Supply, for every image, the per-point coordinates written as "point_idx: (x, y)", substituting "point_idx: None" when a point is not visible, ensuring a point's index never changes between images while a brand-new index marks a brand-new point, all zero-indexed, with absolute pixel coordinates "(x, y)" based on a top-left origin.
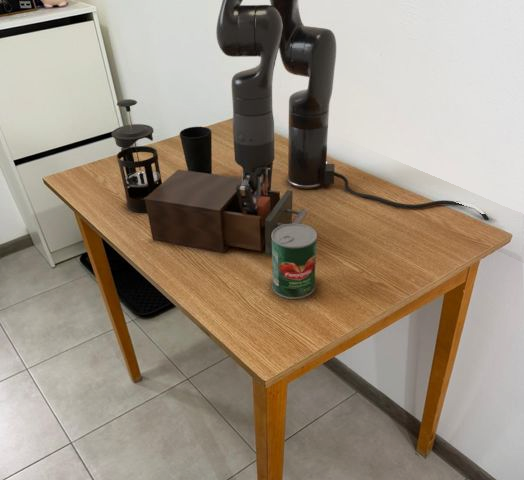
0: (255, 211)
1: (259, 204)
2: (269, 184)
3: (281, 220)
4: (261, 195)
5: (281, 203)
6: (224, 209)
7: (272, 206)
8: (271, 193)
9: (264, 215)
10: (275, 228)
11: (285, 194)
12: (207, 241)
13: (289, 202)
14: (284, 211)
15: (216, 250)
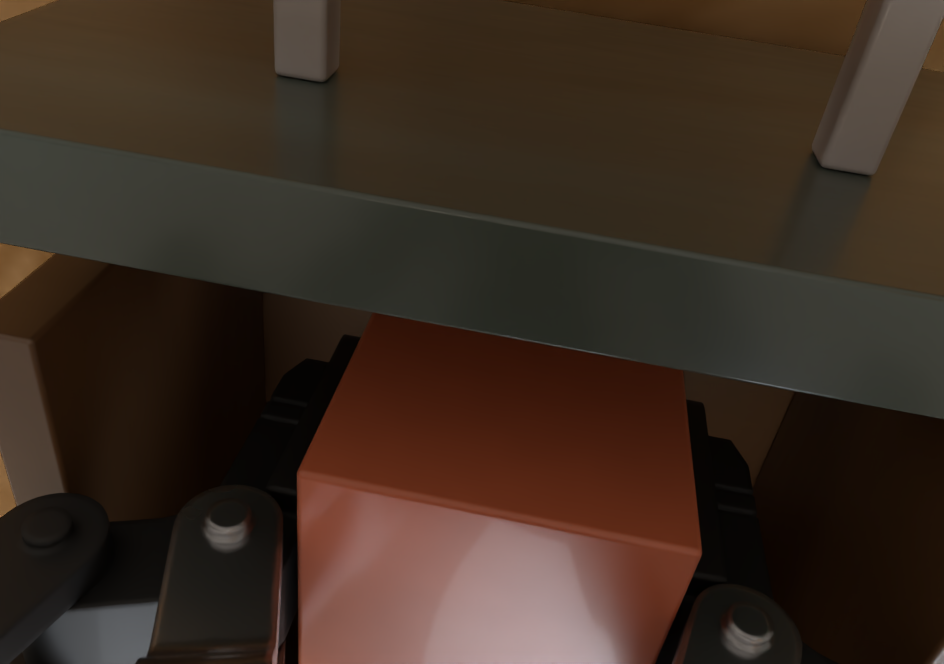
0: (717, 579)
1: (605, 595)
2: (14, 601)
3: (608, 112)
4: (286, 587)
5: (481, 251)
6: (297, 637)
7: (180, 297)
8: (74, 431)
9: (620, 401)
10: (936, 171)
11: (54, 221)
12: None
13: (118, 75)
14: (428, 114)
15: None
